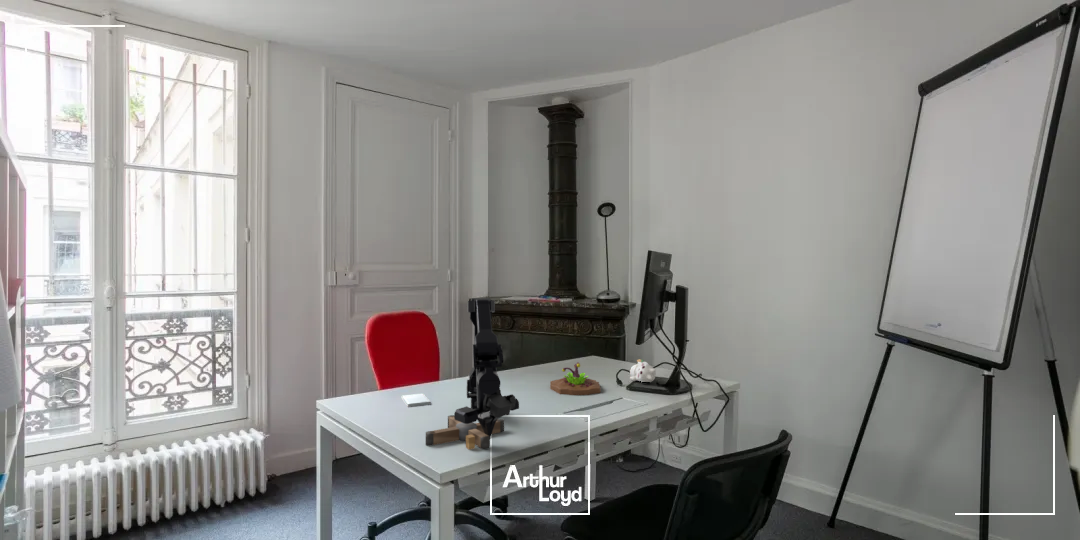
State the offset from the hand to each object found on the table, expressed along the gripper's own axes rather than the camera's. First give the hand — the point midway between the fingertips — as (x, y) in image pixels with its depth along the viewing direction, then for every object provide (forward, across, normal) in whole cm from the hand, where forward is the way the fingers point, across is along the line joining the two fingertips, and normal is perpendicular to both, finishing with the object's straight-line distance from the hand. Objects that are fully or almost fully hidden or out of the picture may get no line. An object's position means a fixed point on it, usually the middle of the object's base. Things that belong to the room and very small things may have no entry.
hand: (488, 439), depth 156 cm
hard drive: (+3, +7, +54) cm, 54 cm away
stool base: (+2, -1, +11) cm, 11 cm away
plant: (+5, +64, +28) cm, 70 cm away
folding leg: (+1, -2, +1) cm, 3 cm away
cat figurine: (+6, +92, +18) cm, 94 cm away
